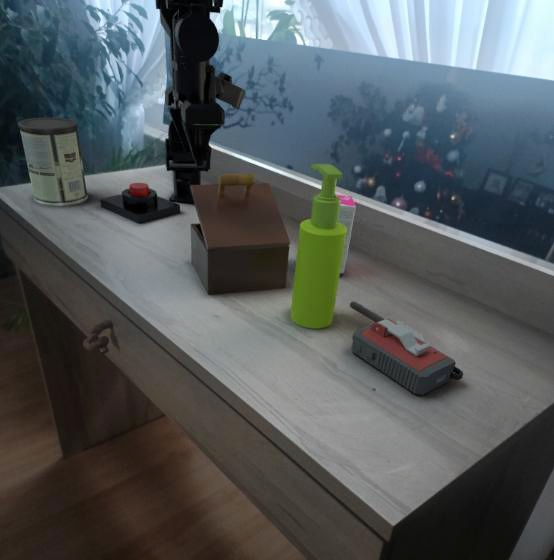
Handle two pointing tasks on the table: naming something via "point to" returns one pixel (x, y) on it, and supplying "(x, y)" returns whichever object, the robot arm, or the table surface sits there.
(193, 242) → the chest
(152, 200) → the button box
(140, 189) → the button
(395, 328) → the walkie-talkie
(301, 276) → the soap dispenser
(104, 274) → the table surface
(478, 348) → the table surface
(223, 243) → the lid
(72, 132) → the coffee can
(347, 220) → the supplement box
